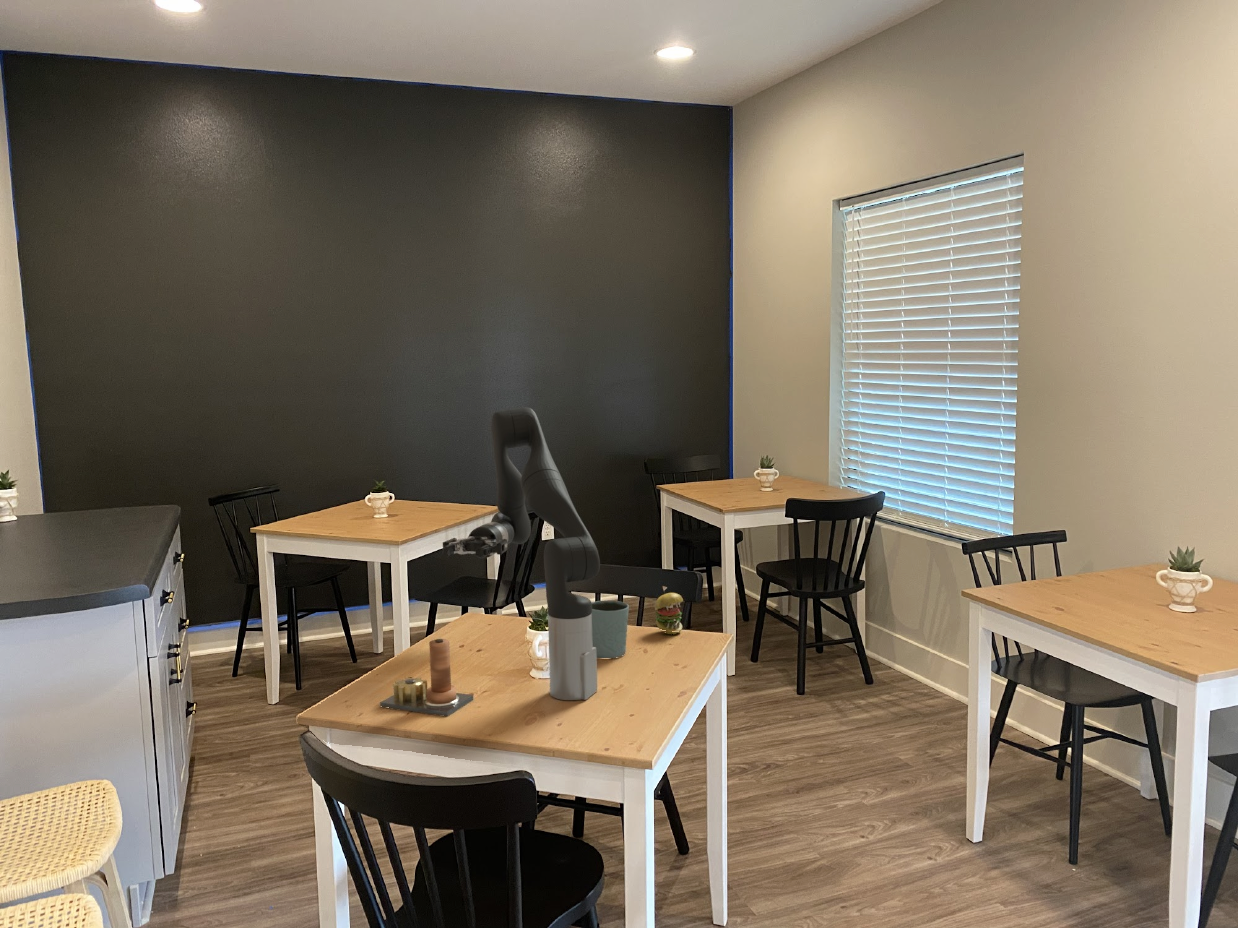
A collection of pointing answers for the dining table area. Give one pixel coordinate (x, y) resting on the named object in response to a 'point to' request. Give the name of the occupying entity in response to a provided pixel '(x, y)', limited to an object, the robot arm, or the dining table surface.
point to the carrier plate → (429, 705)
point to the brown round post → (440, 673)
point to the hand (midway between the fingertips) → (464, 552)
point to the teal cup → (609, 628)
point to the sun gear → (410, 689)
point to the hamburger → (668, 612)
